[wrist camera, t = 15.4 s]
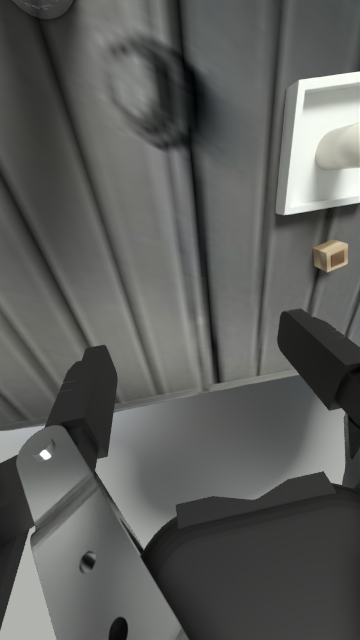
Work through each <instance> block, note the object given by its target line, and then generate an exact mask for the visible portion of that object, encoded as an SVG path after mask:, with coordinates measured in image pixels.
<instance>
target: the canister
mask: <svg viewBox="0 0 360 640" xmlns="http://www.w3.org/2000/svg"><path fill="white" fill-rule="evenodd" d="M315 158H316V163H317V165H318V167H319V168H320V169H322V170H336V169H349V168H360V122H358V123H354V124H351V125H347V126H344V127H341V128H337V129H334V130H331V131H329V132H328V133H327V134H325V135H324V136H323V138H322V139H321V141H320V142H319V144H318V146H317V149H316V155H315Z"/></svg>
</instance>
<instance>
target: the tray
mask: <svg viewBox="0 0 360 640" xmlns="http://www.w3.org/2000/svg"><path fill="white" fill-rule="evenodd" d="M358 122H360V72H354V73H346V74H339V75H332V76H325V77H318V78H311V79H303V80H298V81H297V82H295V83H294V84H293V85H291V86H290V87H288V88H287V89H286V99H285V110H284V121H283V133H282V144H281V155H280V166H279V177H278V189H277V200H276V211H275V213H276V214H281V215H289V214H295V213H301V212H307V211H313V210H319V209H325V208H331V207H337V206H343V205H349V204H354V203H360V168H349V169H336V170H322V169H320V168H319V167H318V165H317V163H316V158H315V155H316V149H317V146H318V144H319V142H320V141H321V139H322V138H323V136H324V135H325V134H327V133H328V132H329V131H331V130H334V129H337V128H341V127H344V126H347V125H351V124H354V123H358Z"/></svg>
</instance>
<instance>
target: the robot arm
mask: <svg viewBox="0 0 360 640" xmlns="http://www.w3.org/2000/svg"><path fill="white" fill-rule="evenodd" d="M12 1H13V2H14V3H15V4H16V5H17V6H19V7H20V8H21V9H22V10H23V11H25V12H27V13H28V14H30V15H32V16H34V17H37V18H40V19H54V18H57V17H59V16H61V15H62V14H64V13H65V12H66V11H67V10H68V8H69V7H70V6H71V4H72V2H73V0H12ZM277 342H278V346H279V349H280V351H281V352H282V353H283V355H284V356H285V357H286V358H287V359H288V361H289V362H290V363H291V364H292V366H293V367H294V368H295V369H296V371H297V372H298V373H299V374H300V375H301V377H302V378H303V379H304V380H305V382H306V383H307V384H308V385H309V386H310V388H311V389H312V390H313V391H314V393H315V394H316V395H317V396H318V397H319V399H320V400H321V401H322V402H323V404H324V405H325V406H326V407H327V409H328V410H335V409H339V408H342V409H343V410H344V411H345V412H346V413H345V416H344V437H345V472H344V476H343V481H342V485H339V484H334V483H330V481H329V479H328V478H327V477H326V475H325V473H324V472H319V473H314V474H310V475H305V476H301V477H297V478H292V479H288V480H286V481H285V482H283V483H282V484H280V485H279V486H277V487H275V488H274V489H272V490H271V491H269V492H268V493H266V494H264V495H263V496H261V497H260V498H258V499H256V500H246V499H236V498H225V497H215V496H212V497H208V498H203V499H199V500H195V501H191V502H186V503H181V504H177V505H176V511H177V516H176V517H175V518H173V519H172V520H170V521H169V522H168V523H166V524H165V525H164V526H163V527H162V528H161V529H160V530H159V531H158V532H157V533H156V534H155V535H154V536H153V538H152V539H151V540H150V542H149V543H148V544H147V546H146V547H145V549H144V548H143V546H142V545H141V543H140V541H139V540H138V538H137V537H136V535H135V533H134V532H133V530H132V529H131V527H130V526H129V524H128V523H127V521H126V520H125V518H124V517H123V515H122V514H121V512H120V510H119V509H118V507H117V506H116V504H115V502H114V501H113V499H112V497H111V496H110V494H109V492H108V491H107V489H106V488H105V486H104V484H103V483H102V481H101V480H100V478H99V477H98V475H97V473H96V472H95V468H96V462H97V459H99V458H103V457H107V456H108V449H109V441H110V434H111V426H112V418H113V412H114V404H115V397H116V389H117V373H116V369H115V367H114V364H113V362H112V359H111V357H110V354H109V352H108V349H107V347H106V346H105V345H101V346H95V347H90V348H86V350H85V353H84V355H83V358H82V361H78V362H75V364H74V365H73V366H72V367H71V368H70V369H69V370H68V372H67V374H66V376H65V379H64V381H63V384H62V386H61V389H60V393H59V394H58V396H57V398H56V401H55V403H54V406H53V408H52V411H51V413H50V416H49V418H48V421H47V423H46V425H45V428H44V429H42V430H40V431H38V432H37V433H35V434H34V435H33V436H31V437H30V439H28V440H27V442H26V443H25V444H24V445H23V446H22V448H21V450H20V451H19V454H18V455H16V456H14V457H12V458H10V459H8V460H6V461H4V462H2V463H0V629H1V626H2V622H3V618H4V615H5V612H6V608H7V605H8V601H9V598H10V594H11V591H12V587H13V584H14V581H15V577H16V573H17V569H18V567H19V563H20V560H21V556H22V552H23V549H24V546H25V542H26V539H27V535H28V532H29V529H30V528H32V527H33V526H35V528H36V530H35V532H34V533H33V534H32V535H31V538H30V544H31V550H32V553H33V557H34V561H35V564H36V568H37V571H38V575H39V579H40V582H41V586H42V589H43V593H44V596H45V600H46V603H47V607H48V611H49V614H50V618H51V622H52V625H53V629H54V632H55V636H56V639H57V640H360V347H359V346H357V345H356V344H355V343H353V342H352V341H351V340H349V339H348V338H347V337H344V335H343V334H341V333H340V332H339V331H336V329H335V328H334V327H332V326H331V325H330V324H328V323H327V322H325V321H322V320H320V319H318V318H315V317H311V316H310V315H309V314H308V313H306V312H305V311H304V310H302V309H294V310H289V311H284V312H282V313H281V316H280V323H279V330H278V338H277Z"/></svg>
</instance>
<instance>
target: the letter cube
mask: <svg viewBox="0 0 360 640" xmlns="http://www.w3.org/2000/svg"><path fill="white" fill-rule="evenodd" d="M313 257H314V266H315V267H317V268H319V269H321V270H324V271H326V272H329V271H331V270H334V269H336V268H339V267H341V266H343V265H346V264H348V244H346V243H343V242H339V241H336V240H333V239H332V240H330V241H328V242H326V243H323V244H321V245H319V246H316V247H314V248H313Z"/></svg>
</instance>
